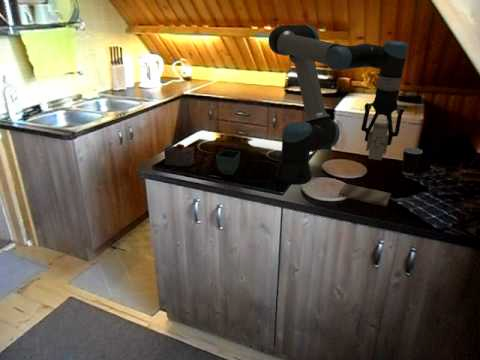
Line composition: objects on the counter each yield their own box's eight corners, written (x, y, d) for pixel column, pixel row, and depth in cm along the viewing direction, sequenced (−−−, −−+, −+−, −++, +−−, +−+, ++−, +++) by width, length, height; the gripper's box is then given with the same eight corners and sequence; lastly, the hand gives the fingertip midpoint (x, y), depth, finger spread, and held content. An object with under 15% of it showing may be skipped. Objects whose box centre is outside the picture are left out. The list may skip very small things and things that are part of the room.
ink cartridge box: (368, 150, 148) (375, 113, 142) (381, 152, 147) (389, 115, 141) (367, 158, 141) (375, 119, 134) (381, 160, 140) (390, 121, 133)
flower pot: (215, 175, 168) (215, 156, 164) (222, 168, 176) (221, 149, 172) (235, 177, 166) (235, 158, 162) (240, 170, 174) (240, 151, 170)
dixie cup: (395, 172, 173) (399, 149, 168) (404, 168, 177) (409, 146, 173) (411, 178, 167) (416, 154, 163) (421, 173, 172) (426, 150, 167)
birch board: (338, 195, 151) (338, 192, 151) (345, 186, 159) (345, 183, 159) (386, 206, 143) (386, 203, 143) (390, 196, 151) (391, 193, 151)
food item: (196, 162, 182) (195, 142, 178) (192, 168, 175) (191, 148, 171) (168, 160, 183) (167, 141, 179) (163, 167, 176) (161, 146, 172)
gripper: (358, 87, 134) (348, 149, 144) (415, 94, 126) (400, 159, 136) (363, 83, 140) (353, 143, 150) (417, 90, 132) (403, 152, 142)
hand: (376, 151), depth 143 cm, fingers closed on ink cartridge box, 5 cm apart
